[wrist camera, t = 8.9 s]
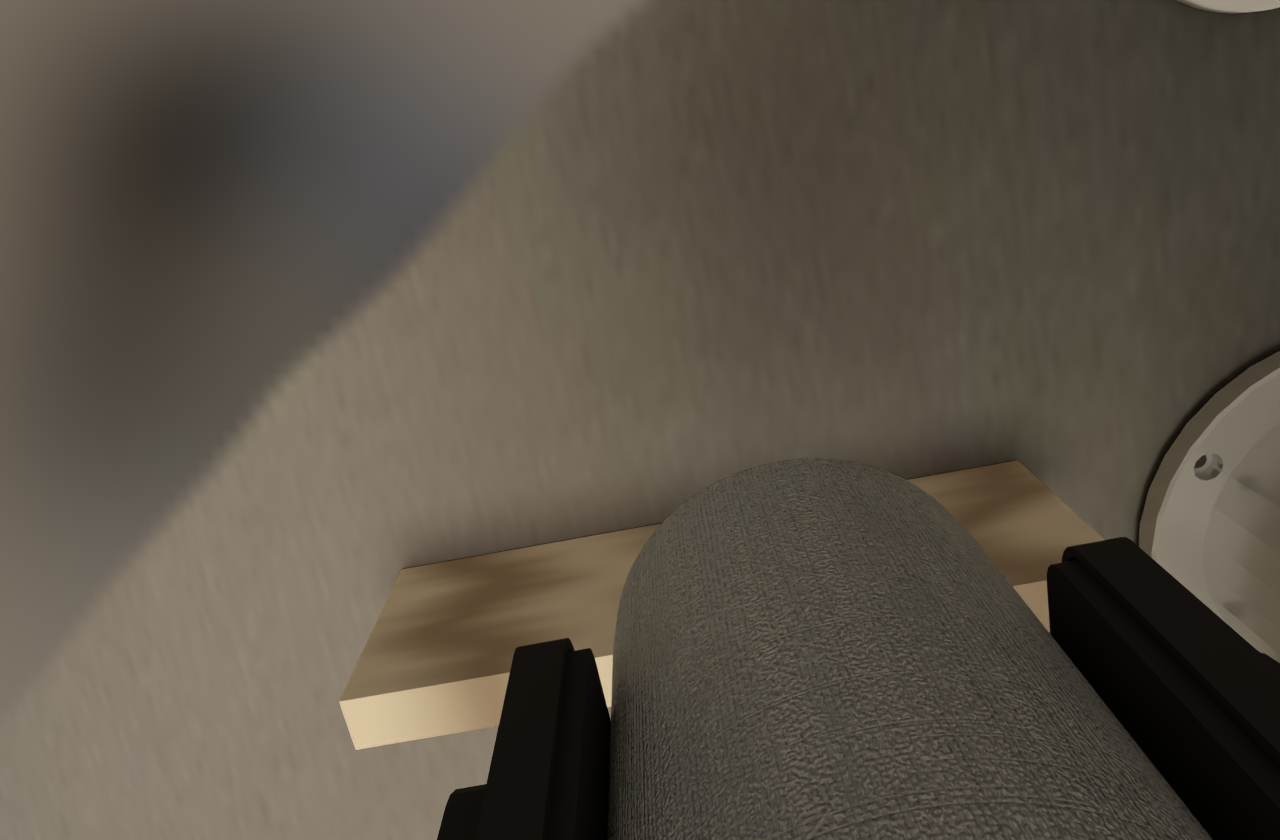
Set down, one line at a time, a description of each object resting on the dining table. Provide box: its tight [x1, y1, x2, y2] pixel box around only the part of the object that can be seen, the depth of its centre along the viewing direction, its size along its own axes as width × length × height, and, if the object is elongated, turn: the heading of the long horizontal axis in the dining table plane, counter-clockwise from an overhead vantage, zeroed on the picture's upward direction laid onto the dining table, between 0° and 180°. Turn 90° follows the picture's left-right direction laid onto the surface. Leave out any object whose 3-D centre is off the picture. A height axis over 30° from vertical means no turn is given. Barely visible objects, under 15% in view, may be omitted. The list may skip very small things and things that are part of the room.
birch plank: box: [339, 460, 1105, 750], centre depth 27 cm, size 20×2×7 cm, turn 101°
